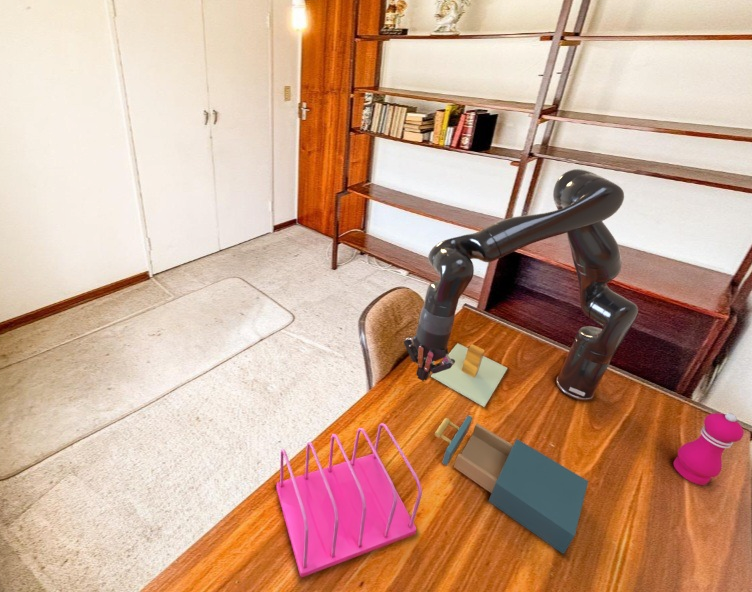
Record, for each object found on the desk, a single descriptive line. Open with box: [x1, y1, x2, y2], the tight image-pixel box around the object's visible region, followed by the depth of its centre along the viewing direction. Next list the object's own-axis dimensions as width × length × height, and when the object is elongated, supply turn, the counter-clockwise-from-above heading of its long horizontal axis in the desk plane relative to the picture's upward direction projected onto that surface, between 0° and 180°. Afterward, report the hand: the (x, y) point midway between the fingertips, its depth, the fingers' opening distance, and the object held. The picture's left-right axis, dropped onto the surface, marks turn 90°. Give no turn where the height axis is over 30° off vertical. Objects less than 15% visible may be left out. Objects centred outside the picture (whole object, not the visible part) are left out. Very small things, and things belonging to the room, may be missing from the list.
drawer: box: [434, 414, 514, 494], centre depth 95 cm, size 18×13×5 cm
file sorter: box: [276, 422, 423, 578], centre depth 81 cm, size 17×25×16 cm
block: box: [462, 343, 486, 378], centre depth 119 cm, size 3×4×9 cm
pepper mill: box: [672, 412, 744, 486], centre depth 90 cm, size 7×7×20 cm
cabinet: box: [488, 438, 589, 555], centre depth 86 cm, size 15×15×7 cm
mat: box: [430, 342, 508, 408], centre depth 121 cm, size 20×16×1 cm
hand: (421, 378), depth 100 cm, fingers closed
